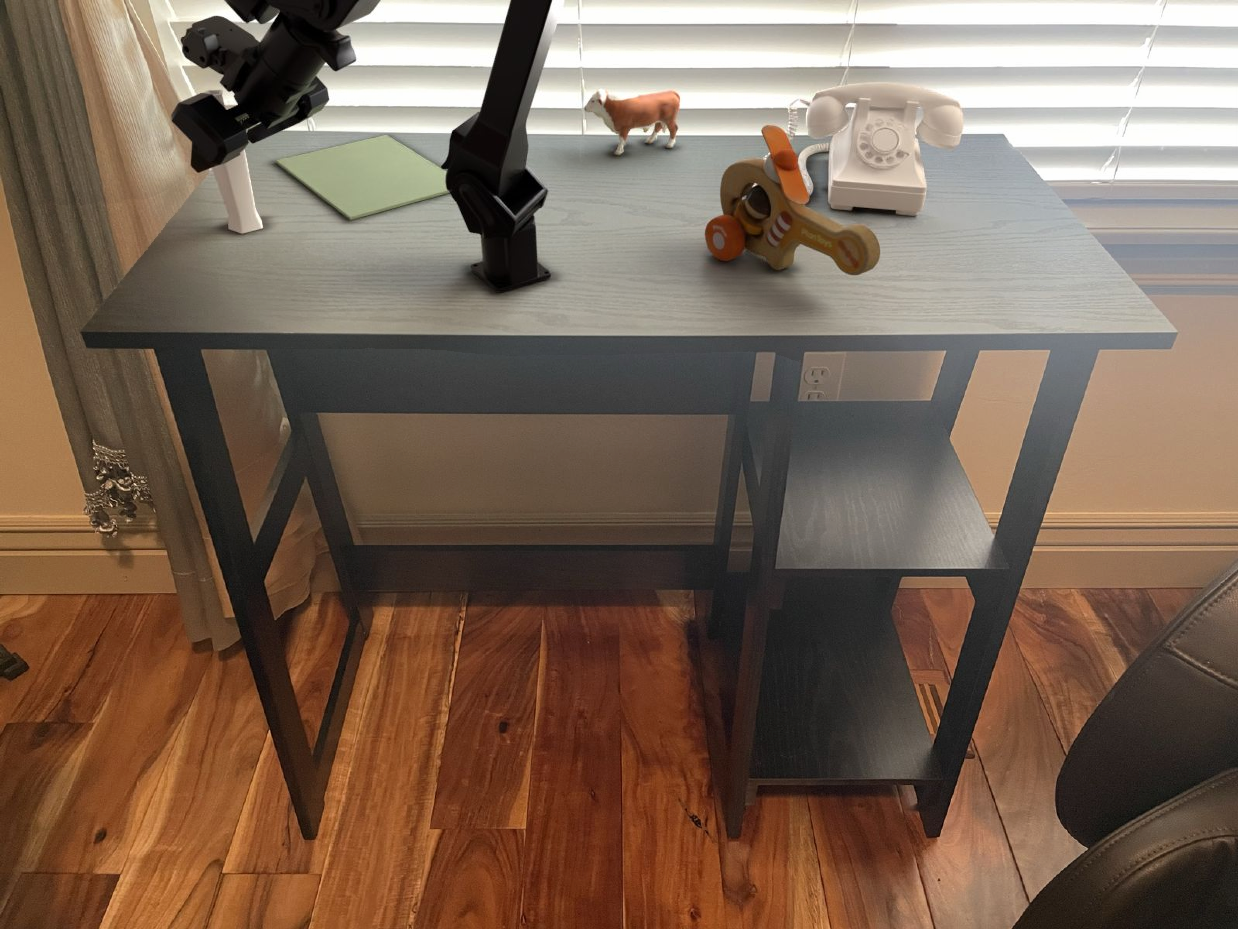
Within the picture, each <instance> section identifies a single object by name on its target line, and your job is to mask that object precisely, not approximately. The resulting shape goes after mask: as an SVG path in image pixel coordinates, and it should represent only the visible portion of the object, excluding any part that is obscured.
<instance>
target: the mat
mask: <svg viewBox="0 0 1238 929" xmlns="http://www.w3.org/2000/svg"><path fill="white" fill-rule="evenodd" d="M275 162H276V164H277V165H278V166H279V167H281V168H282V169H283V170H285V171H286V172H287V173H289V174H290V175H291V176H292V177H294V178H295V179H297V181H299V182H300V183H301V184H303V185H304V186H305V187H307V188H308V189H309V190H311V191H312V192H314V193H315V194H316V195H317V196H318V197H320V198H321V199H322V200H324V201H325V202H326V203H328V204H329V205H330V206H331V207H333V208H334V209H336V210H337V211H338V212H339V213H340V214H342V215H343V216H344V217H345V218H347V219H348V220H350V221H353V220H356V219H360V218H364V217H368V216H371V215H375V214H378V213H382V212H385V211H389V210H392V209H396V208H399V207H403V206H408V205H410V204H415V203H418V202H422V201H425V200H429V199H433V198H436V197H440V196H444V195H447V194H450V192H449V191H448V190H447V189H446V183H445V178H446V172H447V170H446V169H442V168H441V166H438V165H436V164H435V163H434V162H432V161H430V160H428V159H427V158H425V157H423V156H422V155H420V154H418V153H417V152H416V151H413V150H412V149H410V148H409V147H407V146H406V145H404V144H402V143H400V142H399V141H397V140H396V139H394V138H392V137H390V136H389V135H388V134H384V135H380V136H375V137H372V138H367V139H361V140H357V141H353V142H349V143H345V144H340V145H336V146H332V147H327V148H323V149H319V150H315V151H311V152H307V153H302V154H298V155H292V156H289V157H284V158H281V159H277V160H275Z"/></svg>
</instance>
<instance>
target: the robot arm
mask: <svg viewBox="0 0 1238 929" xmlns="http://www.w3.org/2000/svg"><path fill="white" fill-rule="evenodd" d="M223 1H224V2H225V3H226V5H228V6H229V8H231V10H232V11H233V12H234V13H235V14H236V15H237V16H238V17H239V19H241V21H242V22H244V23H245V24H249V23H250V22H253V21H256V22H257V23H258V24H259V25H265V24H267V23H268V22H270V21H272V20H273V19H274V20H273V21H272V23H271V24H270V26H269V27H268V29H267V31H266V32H265V34H264V36H263V37H262V38H261V39H260V41H259V40H258V39H256V37H255V36H254V35H253V34H251V33H250V32H249V31H247V30H245V29H244V28H242V27H240V26H239V25H238V24H237V23H235V22H233V21H231V20H230V19H229V18H227V17H224V16H222V15H213V16H209V17H207V18H204V19H201V20H198V21H195V22H193V23H192V24H191V27H188V28H186V30H185V35H183V36H182V37H180V43H181V46H182V47H181V52H182V54H183V56H184V57H185V59H187V60H188V61H190V62H191V63H193V64H194V65H196V66H197V67H199V68H201V69H202V70H204V69H207V68H209V69H211V70H213V71H214V72H216V73H217V74H219V75H221V76H222V78H221V79H220V81H219V84H220V85H221V86H222V87H223V88H224V89H225V90H226V91H227V92H228V93H230V92H232V93H233V99H234V100H235V102H236V105H233V106H232V107H230V108H228V109H227V108H226V106H225V107H224V106H223V105H222V104H221V103H220V102H219V101H218V100H217V99H216V98H215V97H214V96H213V95H212V94H207V93H203V92H200V93H197V94H195V95H193V96H191V97H188V98H185V99H184V100H182V101H179V102H178V103H177V105H176V106H175V108H174V109H173V111H172V112H171V114H170V117H171V122H172V123H173V124H174V126H176V127H177V128H178V130H180V132H181V133H182V134H183V135H184V136H185V137H186V138H187V139H188V140H189V141H190V142H191V150H190V152H191V153H190V167H191V168H192V170H194V171H195V172H196V174H200V173H202V172H206V171H207V170H210V169H212V168H213V167H215V166H218V165H221V164H225V163H226V162H228V161H230V160H232V159H234V158H236V157H238V156H239V155H240V152H242V151H243V150H244V149H245V150H246V148H247V146H248V145H249V143H251V144H256V143H258V142H261V141H263V140H265V139H267V138H269V137H271V136H273V135H277V134H279V133H280V132H282V131H285V130H287V129H290V128H292V127H294V126H296V125H298V124H300V123H303V122H304V121H306V120H307V119H309V118H312V117H313V115H315V114H317V113H319V112H321V111H322V110H323V109H324V108H325V107H326V105H327V103H329V101H330V95H329V89H328V87H327V86H326V85H325V83H324V82H323V81H322V80H320V78H319V77H318V76H317V75H318V74H319V73H320V71H321V70H322V69H323V67H324V66H325V64H326V65H328V67H329V68H330V69H331V70H332V71H333V72H339V71H341V70H343V69H344V68H346V67H348V66H350V65H352V64H354V63H356V62H357V54H356V52H355V48H354V47H353V45H352V37H351V36H350V35H349V34H348V35H347V34H345V35H344V34H342V33H340V32H339V31H338V29H340V28H342V27H344V26H347V25H349V24H351V23H353V22H355V21H358V20H360V19H362V18H365V17H367V16H369V15H370V14H371V13H372V12H374V10H375V9H376V8H377V6H378V5H379V4H380V3H381V1H382V0H223ZM564 4H565V0H510V1H509V5H508V9H507V12H506V16H505V18H504V23H503V27H502V30H501V34H500V37H499V41H498V43H497V44H498V45H497V48H496V52H495V55H494V59H493V63H492V66H491V70H490V73H489V77H488V81H487V84H486V88H485V91H484V95H483V98H482V101H481V102H482V103H481V106H480V110H479V111H477V112H476V113H475V114H473V115H472V116H470V117H469V118H467V119H466V120H465V121H463V122H461V124H460V125H458V126H456V127H455V128H453V129H452V130H451V133H450V137H449V141H448V142H449V143H448V153H447V156H446V159H445V161H444V162H443V163H442V164H441V165H440V168H441V169H443V170H446V178H445V183H446V189H447V190H448V191H449V192H450V193H449V194H450V196H451V198H452V199H453V201H454V202H455V203H456V205H457V208H458V210H459V212H460V214H461V217H462V219H463V222H464V224H465V226H466V228H467V230H468V232H469V233H470V234H476V235H479V236H480V245H481V246H480V247H481V256H482V261H478V262H474V263H471V265H470V270H471V271H472V272H473V273H474V274H475V275H476V276H477V277H479V278H480V279H481V280H482V281H483V282H485V283H486V284H487V285H488V286H489V287H490V288H492V289H493V290H494V291H495V292H497V293H503V292H507V291H510V290H515V289H517V288H521V287H524V286H528V285H531V284H534V283H537V282H540V281H544V280H547V279H550V278H551V277H552V272H551V271H550V270H549V269H548V268H546V267H545V266H544V265H543V264H541V263H540V262H539V261H538V241H537V240H538V239H537V225H536V217H535V215H534V214H536V213H537V212H538V210H540V209H542V208H543V207H544V206H545V202H546V199H547V197H548V193H549V189H548V188H547V186H546V185H545V184H544V183H543V182H542V181H541V180H540V178H539V177H538V176H537V175H536V174H535V173H534V172H533V171H532V170H531V168H529V166H528V165H527V162H528V161H527V160H528V153H529V139H528V132H527V131H528V130H527V122H528V121H527V120H528V117H529V115H530V111H531V108H532V106H533V101H534V98H535V95H536V93H537V89H538V86H539V82H540V79H541V76H542V73H543V70H544V67H545V63H546V61H547V58H548V54H549V50H550V48H551V44H552V41H553V37H554V35H555V32H556V28H557V25H558V22H559V18H560V16H561V13H562V10H563V6H564Z"/></svg>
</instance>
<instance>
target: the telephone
mask: <svg viewBox="0 0 1238 929" xmlns="http://www.w3.org/2000/svg"><path fill="white" fill-rule="evenodd" d="M797 101H799V102H800V103H802V104H803V105H804V106H807V109H806V114H805V125H806V130H807V135H808V136H809V137H810V138H811V139H814V140H821V139H826V138H829V137H831V136H832V138H831V140H830V142H826V143H825V142H823V143H816V144H812V145H809V146H807V147H805V148H803V150H801V152H800V154H799V155H798V164H799V167H800V172H801V174H802V178H803V181H804V183H805V186H806V189H807V191H808V194H809V197H811V195H812V194H813V192H814V182H813V180H812V178H811V176H810V174H809V172H808V169H807V159H808V158H809V157H810V156H811V155H814V154H817V153H823V152H829V153H828V176H827V177H828V178H827V180H828V182H827V185H828V186H827V204H829V205H830V208H831V209H832V210H841V211H853V208H854V207H856V208H866V209H867V208H868V209H879V210H889V211H895V215H900V216H909V217H911V216H912V217H916V216H918V214H919V213H921V212H923V210H924V204H925V203H926V202H925V201H926V197H927V189H928V186H927V179H926V175H925V169H924V164H923V159H922V154H921V147H920V143H919V139H920V140H921V141H923V142H924V143H926V145H927V144H928V145H929V146H931V147H934V148H938V149H941V150H952V149H955V148H957V147H958V146H959V145H960V143H961V138H962V134H963V130H964V124H965V122H964V114H963V110H962V107H961V104H960V102H959V101H958V100H957V99H954V98H952V97H950V96H948V95H945V94H943V93H940V92H938V91H935V90H932V89H928V88H924V87H922V86H917V85H912V84H907V83H901V82H889V81H871V82H858V83H849V84H842V85H837V86H833V87H829V88H824V89H822V90H818V91H816V92H815V93H814V95H813V97H812V98H811V101H809V100H807V99H803V98H796V99H795V100H794V101H793V102H791V103H790V104H789V105H788V106H787V110H788V121H789V122H788V126H787V130H786V131H787V132H785V133H786V135H787V137H788V139H789V142H790V144H791V143H792V141H793V140H794V136H795V135H796V133H795V132H797V128H798V122H799V121H798V119H799V116H798V107H797V106H793V105H794V104H795V103H796V102H797ZM849 104H854V107H853V111H852V114H851V117H850V114H849V112H848V111H847V109H846V107H847V105H849ZM792 106H793V107H792ZM791 107H792V108H791ZM919 108H920V109H922V118H921V120H920V121H919V123H918V124H917V115H918V109H919ZM792 111H793V112H792ZM795 119H797V120H795ZM916 135H917V137H918V138H919V139H918V138H916ZM769 155H770V152H768V153H767V154H766V155H765V156H764V157H762V158H761V159H762V160H765V161H766V159H767V157H768V156H769ZM756 185H758V184H756V183H755V184H754V185H753V187H754V186H756Z"/></svg>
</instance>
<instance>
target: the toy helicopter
mask: <svg viewBox="0 0 1238 929" xmlns="http://www.w3.org/2000/svg"><path fill="white" fill-rule="evenodd" d="M760 131H761V135H762V138H763V140H764V142H765V144H766V146H767V148H768V151H769V153H770V155H769V156H768V155H767V156H768V157H767V159H766V161H765V160H762V159H763V158H759V157H747V158H743V159H740V160H738V161H736V162H734V163H732V164H730V165H729V166H728V167H727V168H726V169H725V170H724V172H723V174H722V176H721V181H720V189H719V197H720V207H721V210H722V215H719V216H715V217H714V218H711V219H710V220H709V221H708V223H707V224H706V226H705V230H704V239H705V244H706V246H707V249H708V250H709V252H710V254H711V255H712V256H713V257H714V258H715V259H717V260H718V261H721V262H728V261H732V260H733V259H737V258H738V257H739V256H740V255H742V253H743V252H744V250H747V251H748V252H750V253H752V254H754V255H756V256H759V257H762V258H764V259H765V260H766V261H767V262H768V264H769V266H770V267H771V268H772V269H773V270H775V271H781V270H784V269H786V268H788V267H790V266H792V265H793V263H794V260H795V252H796V249H797V248H798V247H799V246H800V245H802V246H804V247H806V248H809V249H811V250H813V251H816V252H819V253H821V254H823V255H825V256H827V257H830V259H832V260H833V262H834V263H835V265H836V266H837V268H838V269H839V270H840V271H842V272H843V273H845V274H846V275H849V276H860V275H862V274H865V273H867V272H869V271H871V270H873V269H874V268H875V267H876V266H877V265H878V263H879V260H880V257H881V245H880V242H879V240H878V238H877V235H876V234H875V233H874V231H872V229H870V228H869V227H868V226H866V225H864V224H862V223H853V224H850V225H847V226H846V225H843V224H840V223H839V222H837V221H835V220H833V219H831V218H829V217H827V216H825V215H823V214H821V213H820V212H818V211H815V210H813V209H811V208H809V207H807V205H805V204H807V203H808V202H809V201H810V196H809V194H808V191H807V189H806V186H805V183H804V181H803V178H802V174H801V172H800V167H799V164H798V158H799V156H798V155H797V153H796V152H795V150H794V148H793V147H792V144H791V143H790V142H789V139H788V137H789V136H788V135H786V133H787V132H786V131H785V130H784V129H782V127H780V126H777V125H775V124H767V125H764V126H762V128H761V130H760ZM787 136H788V137H787ZM755 183H756V184H758V185H756V186H754V187H753V185H754V184H755ZM744 197H745V198H744ZM743 198H744V199H743Z"/></svg>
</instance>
